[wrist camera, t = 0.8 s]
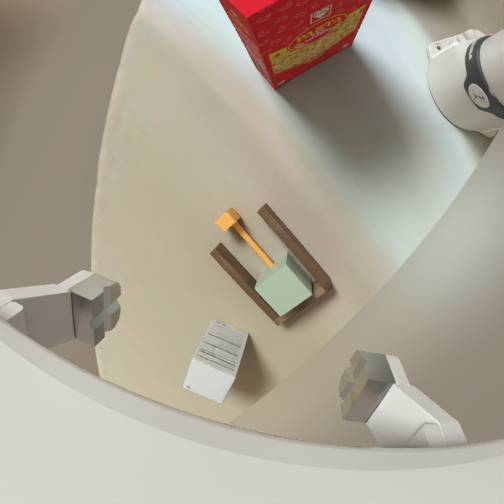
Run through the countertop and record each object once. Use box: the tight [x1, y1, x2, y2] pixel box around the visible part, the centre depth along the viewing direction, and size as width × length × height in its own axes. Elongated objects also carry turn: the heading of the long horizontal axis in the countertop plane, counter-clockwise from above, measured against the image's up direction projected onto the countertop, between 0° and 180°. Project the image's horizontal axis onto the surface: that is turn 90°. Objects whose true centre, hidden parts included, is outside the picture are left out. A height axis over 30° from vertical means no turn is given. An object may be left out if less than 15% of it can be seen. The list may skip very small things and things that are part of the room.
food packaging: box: [219, 0, 372, 90], centre depth 25 cm, size 15×5×25 cm, turn 126°
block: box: [215, 208, 312, 317], centre depth 45 cm, size 6×17×6 cm, turn 42°
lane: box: [210, 204, 332, 326], centre depth 46 cm, size 11×16×4 cm
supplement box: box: [182, 319, 249, 403], centre depth 48 cm, size 7×7×13 cm
